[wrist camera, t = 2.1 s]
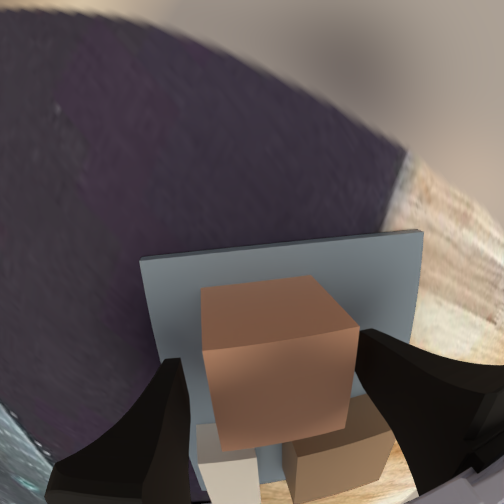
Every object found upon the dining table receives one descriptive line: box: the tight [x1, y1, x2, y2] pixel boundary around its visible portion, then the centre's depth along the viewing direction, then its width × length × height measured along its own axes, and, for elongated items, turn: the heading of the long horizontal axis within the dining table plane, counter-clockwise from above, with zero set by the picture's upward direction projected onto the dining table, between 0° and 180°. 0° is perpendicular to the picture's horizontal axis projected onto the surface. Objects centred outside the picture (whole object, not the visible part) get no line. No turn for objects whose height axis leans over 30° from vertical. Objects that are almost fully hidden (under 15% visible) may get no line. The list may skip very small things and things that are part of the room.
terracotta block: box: [201, 275, 360, 452], centre depth 12 cm, size 5×5×5 cm
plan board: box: [139, 229, 424, 504], centre depth 15 cm, size 18×14×4 cm
